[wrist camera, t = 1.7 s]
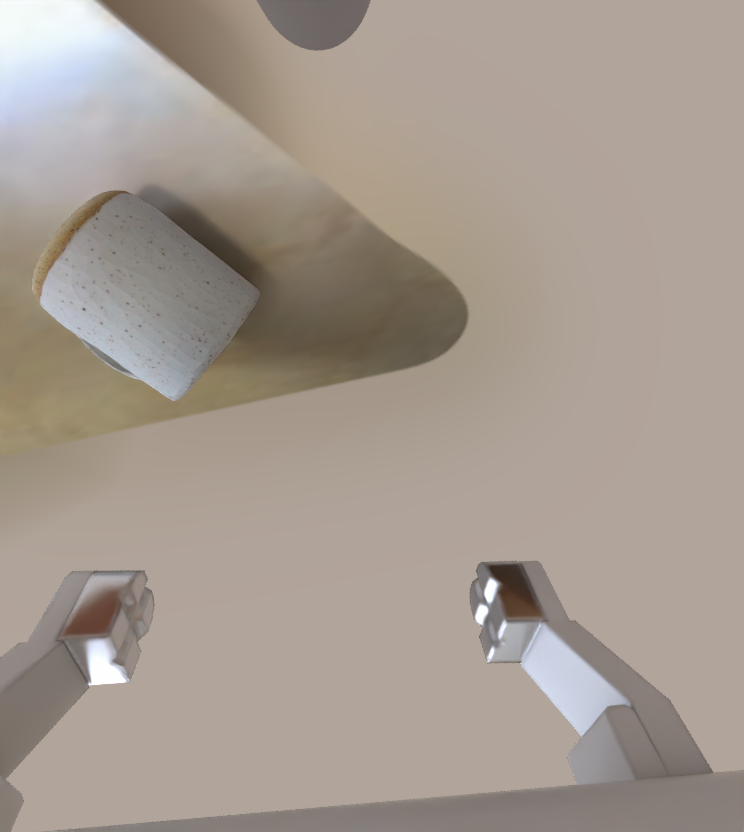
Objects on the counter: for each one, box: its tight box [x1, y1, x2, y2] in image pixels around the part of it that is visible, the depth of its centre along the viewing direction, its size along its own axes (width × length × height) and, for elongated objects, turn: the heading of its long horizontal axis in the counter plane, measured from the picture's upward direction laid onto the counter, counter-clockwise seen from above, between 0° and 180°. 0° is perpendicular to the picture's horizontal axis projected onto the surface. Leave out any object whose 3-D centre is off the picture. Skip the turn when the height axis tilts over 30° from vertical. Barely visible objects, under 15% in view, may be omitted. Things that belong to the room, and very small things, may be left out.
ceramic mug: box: [32, 191, 260, 401], centre depth 22 cm, size 11×8×8 cm
